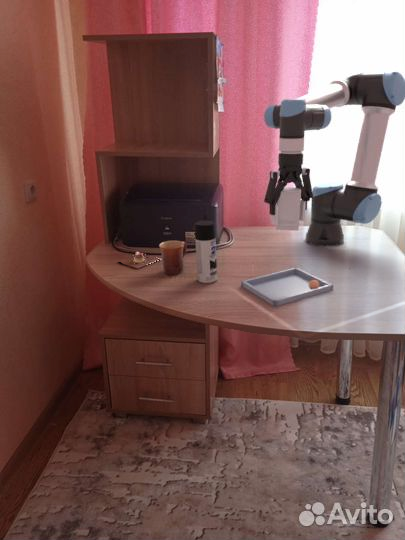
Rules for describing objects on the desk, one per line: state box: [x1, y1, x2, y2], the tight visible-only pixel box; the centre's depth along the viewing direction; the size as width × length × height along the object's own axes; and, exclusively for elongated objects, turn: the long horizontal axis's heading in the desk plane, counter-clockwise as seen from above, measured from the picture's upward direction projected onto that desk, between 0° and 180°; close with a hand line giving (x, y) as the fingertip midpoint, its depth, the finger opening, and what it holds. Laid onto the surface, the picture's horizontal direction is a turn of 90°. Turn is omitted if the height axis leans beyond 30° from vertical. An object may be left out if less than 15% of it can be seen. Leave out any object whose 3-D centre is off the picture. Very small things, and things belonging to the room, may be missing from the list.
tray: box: [240, 267, 334, 307], centre depth 148 cm, size 22×18×2 cm
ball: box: [309, 280, 319, 289], centre depth 145 cm, size 3×3×3 cm
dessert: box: [133, 250, 162, 266], centre depth 177 cm, size 12×12×5 cm
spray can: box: [194, 220, 218, 284], centre depth 155 cm, size 7×7×20 cm
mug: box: [158, 240, 188, 276], centre depth 166 cm, size 12×9×10 cm
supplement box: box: [275, 186, 302, 232], centre depth 151 cm, size 7×7×13 cm
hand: (287, 222), depth 153 cm, fingers closed on supplement box, 10 cm apart
